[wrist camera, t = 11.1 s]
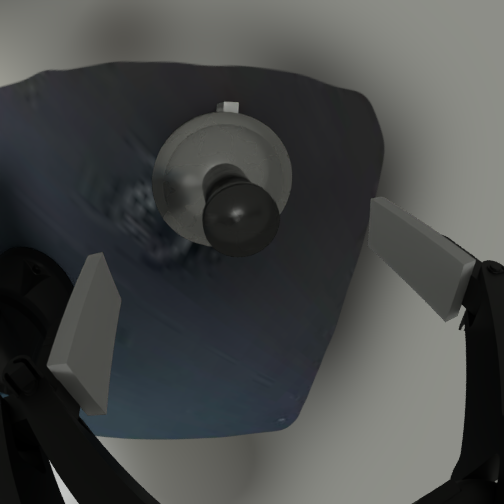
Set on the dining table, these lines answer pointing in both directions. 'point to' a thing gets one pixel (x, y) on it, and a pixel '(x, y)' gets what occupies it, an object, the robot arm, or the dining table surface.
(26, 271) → the robot arm
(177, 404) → the dining table surface
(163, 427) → the dining table surface
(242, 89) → the dining table surface
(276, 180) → the lid
